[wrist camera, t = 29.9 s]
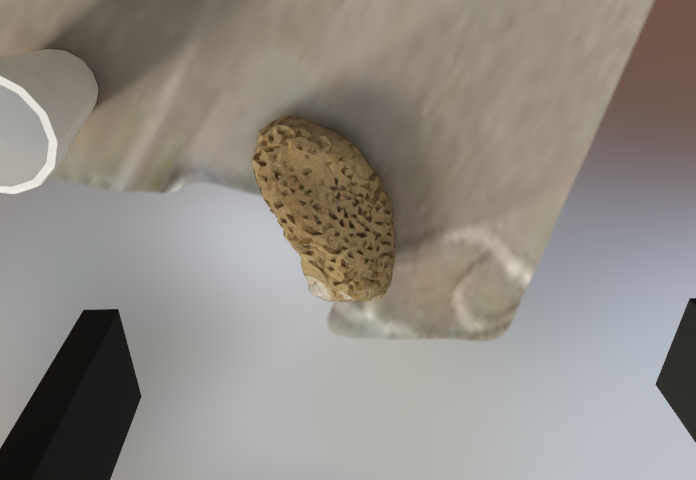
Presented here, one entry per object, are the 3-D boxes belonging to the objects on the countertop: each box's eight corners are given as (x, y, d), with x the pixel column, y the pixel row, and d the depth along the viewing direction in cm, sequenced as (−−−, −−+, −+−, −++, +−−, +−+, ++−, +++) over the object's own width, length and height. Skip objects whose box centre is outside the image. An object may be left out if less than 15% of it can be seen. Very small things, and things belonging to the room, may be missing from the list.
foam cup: (-10, 35, 48) (-110, 74, 37) (95, 24, 48) (25, 59, 37) (32, 138, 53) (-45, 200, 42) (128, 128, 53) (75, 188, 42)
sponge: (399, 259, 63) (394, 102, 50) (394, 313, 58) (386, 152, 44) (287, 255, 65) (252, 103, 52) (271, 307, 60) (228, 152, 46)
